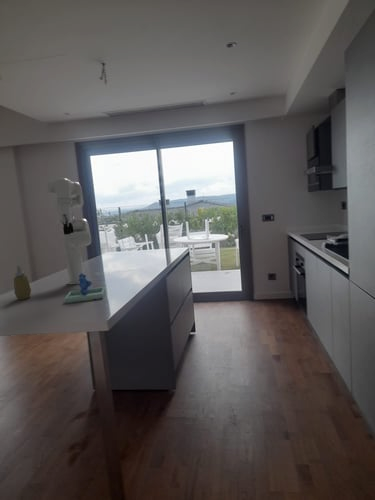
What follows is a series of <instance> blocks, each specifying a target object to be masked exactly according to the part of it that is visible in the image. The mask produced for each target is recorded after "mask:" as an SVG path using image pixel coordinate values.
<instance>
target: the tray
mask: <svg viewBox="0 0 375 500" xmlns="http://www.w3.org/2000/svg"><path fill="white" fill-rule="evenodd" d="M80 290H81V289H78V290H72V291H69V292H68V294H66V296H65V298H64V303H65V304H71V303H73V304H74V303H81V302H86V301H94V300H93V299H96V300H100V298H103V299H104V297H105V294H106V287H104V286H102V287H95V288H88V293H87V295H85V296H84V295H83V294H81V293H82V292H80ZM103 296H104V297H103Z"/></svg>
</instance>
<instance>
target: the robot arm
mask: <svg viewBox="0 0 375 500" xmlns="http://www.w3.org/2000/svg"><path fill="white" fill-rule="evenodd" d="M45 190H46V192H47V193H48V195H50V196H55V200H54V202H55V203H54V204H55V208H56V211H57V212H58V214H59V221H60V224H62V231H63V233H62V235H61V242H62V246H63V250H64V255H65V262H66V268H67V269H66V270H67V275H68V280H67V281H66V285H79V283H80V281H79V275H80V274H81V273H83V274H85V271H84V264H83V257H82V252H81V251H80V250H79V249H77V248H78V247H79V248H81V247H87V246H89V245H91V244H92V235H91V229H90V224H89V221H88V220H87V219H86V218H76V215H75V213H74V212H72V209H77V208H78V209H80V208H82V207H83V206H84V204H85V203H84V195H83V189H82V186H81V184H80V183H79V182H78V181H72V180H70V179H69V178H65V177H64V178H61V177H60V178H55V179H54V180H52V179H51V180H47V181H46V183H45ZM85 278H86V277H85ZM86 279H87V281H89V279H88V278H86Z"/></svg>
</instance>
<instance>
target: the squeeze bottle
mask: <svg viewBox="0 0 375 500" xmlns="http://www.w3.org/2000/svg"><path fill="white" fill-rule="evenodd" d="M14 276H15V277H14V278H13V289H14V295H15V297H16V298H17V300H19V301H20V300H21V301H22V300H26V299H30V298H31V294H32V293H31V292H32V289H31V286H30V285H31V284H30V282H29V279H28V276H27V275H26V273H25V271H23V270H22V267H21V266H20V265H17V266H16V272H15V273H14Z"/></svg>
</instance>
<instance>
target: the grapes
mask: <svg viewBox="0 0 375 500" xmlns="http://www.w3.org/2000/svg"><path fill="white" fill-rule="evenodd" d="M86 277H87V275H86V274H85V273H84V274H83V273H81V274H80V275H79V281H80V283H79V284H78V287H80V288H81V289H79V290H80V292H82V293H81V294H83V295H84V296H85V295H87V293H88V289H89V287H91V285H92V284H93V283H92V281H90V280H88V281H87V279H88V278H87V279H86Z"/></svg>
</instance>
